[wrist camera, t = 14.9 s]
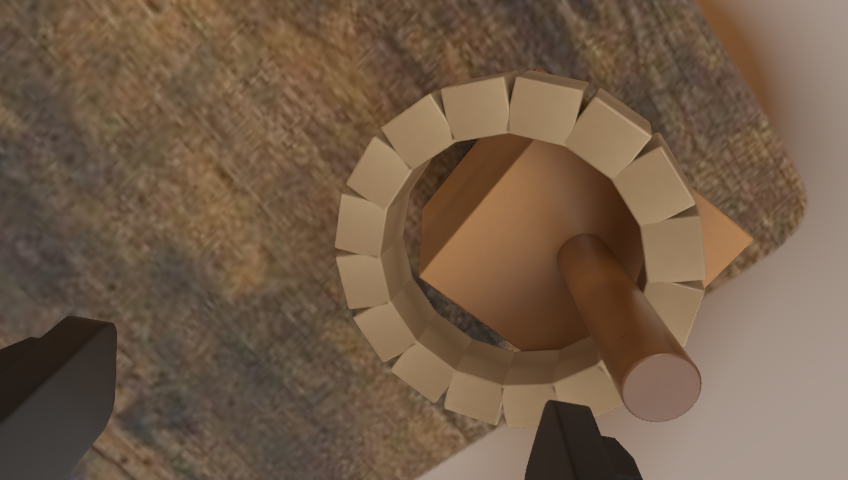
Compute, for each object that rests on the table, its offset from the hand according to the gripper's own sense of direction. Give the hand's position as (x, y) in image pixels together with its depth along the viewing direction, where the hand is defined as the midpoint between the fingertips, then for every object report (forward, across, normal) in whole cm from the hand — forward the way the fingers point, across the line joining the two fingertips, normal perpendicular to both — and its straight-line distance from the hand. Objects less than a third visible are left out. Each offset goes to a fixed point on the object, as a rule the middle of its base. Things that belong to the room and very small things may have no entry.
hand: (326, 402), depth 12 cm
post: (+18, -7, 0) cm, 20 cm away
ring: (+10, -5, 0) cm, 12 cm away
